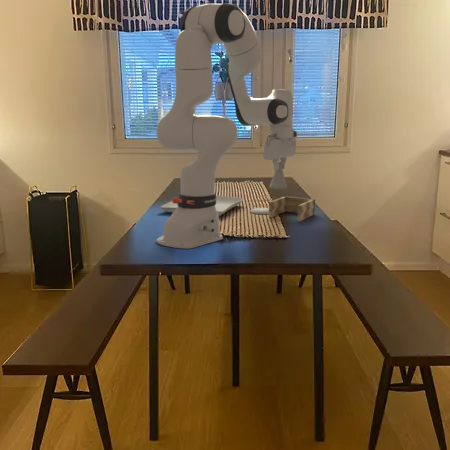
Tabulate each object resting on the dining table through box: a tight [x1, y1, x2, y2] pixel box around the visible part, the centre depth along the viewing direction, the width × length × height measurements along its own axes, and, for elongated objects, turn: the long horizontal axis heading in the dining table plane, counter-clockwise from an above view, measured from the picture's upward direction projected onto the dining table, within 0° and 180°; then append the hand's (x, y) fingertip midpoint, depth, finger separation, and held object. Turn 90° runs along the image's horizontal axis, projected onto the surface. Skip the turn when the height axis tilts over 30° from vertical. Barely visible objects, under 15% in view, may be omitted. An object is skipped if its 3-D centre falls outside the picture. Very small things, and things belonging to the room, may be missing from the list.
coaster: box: [249, 207, 269, 215], centre depth 189 cm, size 10×10×1 cm
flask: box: [269, 161, 288, 190], centre depth 180 cm, size 7×7×10 cm
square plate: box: [159, 195, 245, 216], centre depth 193 cm, size 27×27×4 cm
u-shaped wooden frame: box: [268, 195, 316, 222], centre depth 181 cm, size 14×13×6 cm
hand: (279, 169), depth 180 cm, fingers closed on flask, 3 cm apart
